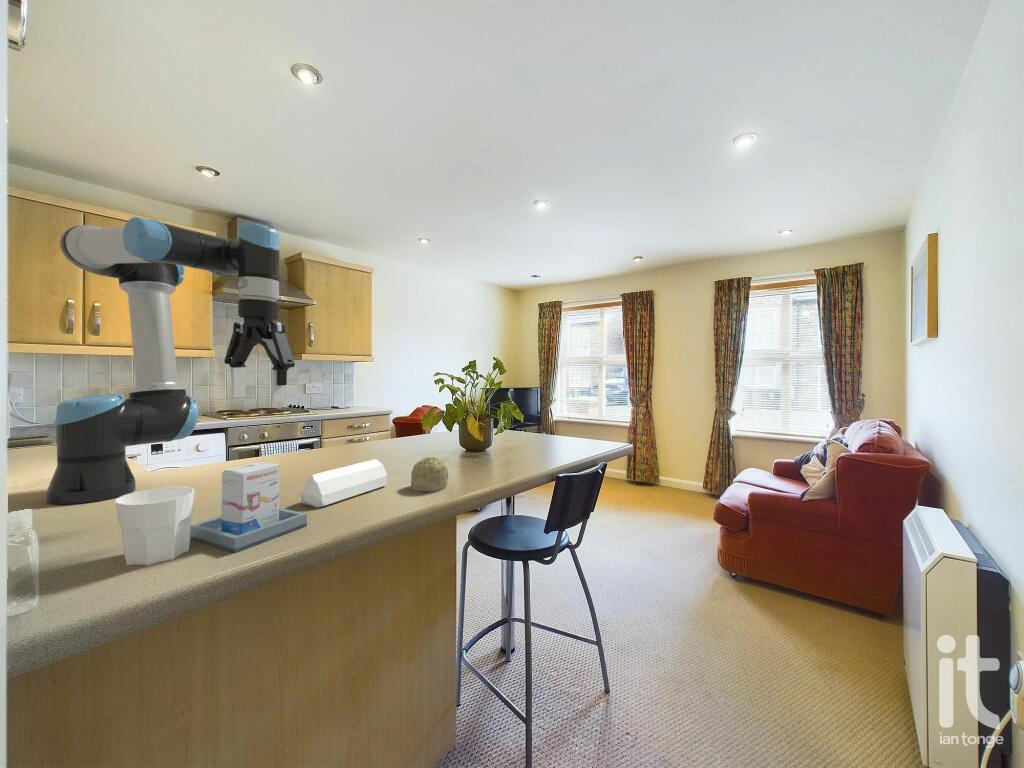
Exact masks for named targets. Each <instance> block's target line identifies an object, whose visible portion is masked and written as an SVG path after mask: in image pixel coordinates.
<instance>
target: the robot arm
mask: <svg viewBox="0 0 1024 768" xmlns="http://www.w3.org/2000/svg"><path fill="white" fill-rule="evenodd" d="M279 239H280V237H279V232H278V231H277V230H276V229H274V228H273V227H271V226H268V225H264V224H261V223H260V224H259V223H254V222H253V223H252V222H247V223H246V222H245V223H241V224H240V226H239V227H238V233H237V238H231V239H230V238H224V237H220V236H217V235H212V234H208V233H204V232H200V231H197V230H191V229H187V228H184V227H179V226H177V225H174V224H173V225H172V224H169V223H164V222H161V221H159V220H156V219H151V218H144V217H141V216H135V217H134V216H133V217H131V218H130V219H128V221H127V222H125V225H124V226H115V227H114V226H113V227H100V226H97V225H92V224H82V225H81V224H80V225H75V226H72V227H69V228H68V229H66V230H65V231H64V232H63V233H62V235H61V236H60V239H59V247H60V250H61V252H62V254H63V256H65V257H64V258H66V259H67V261H69V262H70V263H72V264H73V265H74V266H76V267H77V268H79V269H81V270H83V271H85V272H88V273H91V274H94V275H97V276H103V277H108V278H114V279H118V287H119V289H120V290H122V291H123V292H125V293H126V294H127V300H128V301H127V302H128V310H129V311H128V312H129V322H130V323H129V324H130V331H131V333H130V334H131V343H132V344H131V345H132V355H133V365H134V377H135V378H134V379H135V386H134V387H133V388H132V389H131V390H129V392H128V395H129V396H128V398H126V396H125V395H124V394H122V393H105V394H96V395H87V396H80V397H75V398H70V399H66V400H64V401H61V402H60V403H58V405H57V407H56V413H55V420H54V424H55V430H56V433H55V434H56V435H55V436H56V458H57V459H56V463H57V464H56V468H55V471H54V473H53V475H52V477H51V480H50V483H49V485H48V487H47V489H46V502H47V503H49V504H53V505H71V504H75V505H76V504H82V503H83V504H84V503H91V502H98V501H99V502H101V501H105V500H110V499H115V498H119V497H121V496H123V495H126V494H129V493H133V492H135V491H136V489H137V487H136V482H137V481H136V479H135V477H134V474H133V472H132V470H131V467H130V465H129V464H128V461H127V458H126V450H127V449H126V447H130V446H140V445H147V444H148V445H149V444H154V443H155V444H156V443H169V442H173V441H177V440H183V439H186V438H188V437H189V436H190V435H192V433H193V431H194V430H195V428H196V426H197V423H198V421H199V420H198V419H199V406H198V403H197V402H196V401H197V400H196V399H195V398H194V397H193V396H190V395H187V392H186V388H185V387H184V386H182V385H181V384H180V383H179V381H178V371H177V369H178V368H177V361H176V360H177V359H176V349H175V348H176V347H175V340H174V338H175V337H174V327H173V317H172V308H171V307H172V306H171V297H170V296H171V295H173V294H174V293H175V292H177V291H176V290H177V287H178V286H180V285H181V284H182V282H183V281H184V275H185V267H187V268H192V269H198V270H203V271H208V272H210V273H212V274H213V275H215V276H218V277H219V276H220V277H221V276H222V277H223V276H225V277H234V276H237V277H238V281H237V285H238V296H239V297H240V298H241V299H239V300H238V301H237V311H238V312H237V315H238V317H240V318H243V322H234V323H233V325H232V326H233V328H232V334H231V338H230V340H229V344H228V347H227V351H226V354H225V358H224V360H223V362H224V364H225V365H228V366H229V367H230V368H231V369H230V371H231V373H230V374H231V375H230V377H231V398H241V397H242V398H243V397H247V396H246V395H247V366H246V364H245V363H246V362H247V360H248V358H249V356H250V354H251V353H252V350H253V349H254V347H255V346H257V345H258V344H259V345H260V346H262V347H263V348H264V350H265V352H266V354H267V356H268V358H269V359H270V362H271V363H272V366H273V367H272V368H271V393H270V395H271V396H270V397H271V402H272V403H273V402H274V403H275V402H286V400H287V399H286V398H287V397H286V395H287V393H286V392H287V391H286V387H287V383H288V380H287V379H288V370H289V369H290V368H295V365H296V363H295V360H294V357H293V353H292V351H291V348H290V344H289V342H288V341H289V340H288V337H287V335H286V325H285V322H279V321H278V322H276V320H278V319H279V315H280V314H279V311H280V310H279V309H280V307H279V306H280V305H279V303H278V302H276V301H279V299H280V280H279V277H280V250H281V247H280V240H279Z"/></svg>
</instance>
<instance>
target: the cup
mask: <svg viewBox="0 0 1024 768" xmlns="http://www.w3.org/2000/svg"><path fill="white" fill-rule="evenodd" d="M194 498H195V489H194V488H192V487H189V486H163V487H154V488H148V489H143V490H138V491H133V492H131V493H128V494H126V495H122V496H119V497H116V499H114V500H115V502H114V503H115V507H116V512H117V518H118V519H117V520H118V523H119V524H118V525H119V527H120V530H121V538H122V545H123V546H122V547H123V555H124V560H125V563H126V566H132V565H145V566H151V565H154V564H156V563H161V562H164V561H165V562H166V561H171V560H175V559H176V558H177V557H178V556H180V555H182V554H185V553H186V552H189V551H190V542H191V539H190V529H191V525H192V517H193V509H194V508H193V507H194V500H195V499H194Z"/></svg>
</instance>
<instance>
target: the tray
mask: <svg viewBox="0 0 1024 768" xmlns="http://www.w3.org/2000/svg"><path fill="white" fill-rule="evenodd" d="M307 526H308V513H306V512H305V513H304V512H301V511H296V510H291V509H286V508H283V507H279V522H276V523H273V524H270V525H267V526H264V527H261V528H258V529H255V530H252V531H249V532H246V533H244V534H241V535H238V536H237V535H234V534H230V533H227V532H223V531H221V527H222V515H221V516H218V517H215V518H211V519H207V520H203V521H200V522H197V523H193V524H191V529H190V540H192V541H196V542H199V543H202V544H205V545H209V546H212V547H215V548H219V549H222V550H224V551H229V552H231V553H235V554H237V553H239V552H241V551H244V550H247V549H250V548H252V547H254V546H258V545H260V544H262V543H266V542H268V541H271V540H273V539H276V538H279V537H282V536H284V535H287V534H289V533H292V532H294V531H297V530H300V529H302V528H305V527H307Z"/></svg>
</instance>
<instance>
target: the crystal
mask: <svg viewBox="0 0 1024 768" xmlns="http://www.w3.org/2000/svg"><path fill="white" fill-rule="evenodd" d="M387 484H388V473H387V472H386V468H385V467H384V464H383V463H381V462H380V461H379V460H378V459H377V458H375V459H371V460H366V461H362V462H359V463H354V464H351V465H346V466H342V467H338V468H334V469H329V470H326V471H322V472H318V473H315V474H312V475H310V476H309V477H307V478H306V480H305V483H304V485H303V488H302V489H301V492H300V494H299V496H300V500H301V503H302V504H303V505H305V506H309V507H313V508H320V507H325V506H328V505H330V504H334V503H336V502H340V501H343V500H346V499H349V498H352V497H355V496H358V495H361V494H363V493H366V492H367V493H368V492H370V491H373V490H376V489H379V488H381V487H384V486H385V487H386V486H387Z"/></svg>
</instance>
